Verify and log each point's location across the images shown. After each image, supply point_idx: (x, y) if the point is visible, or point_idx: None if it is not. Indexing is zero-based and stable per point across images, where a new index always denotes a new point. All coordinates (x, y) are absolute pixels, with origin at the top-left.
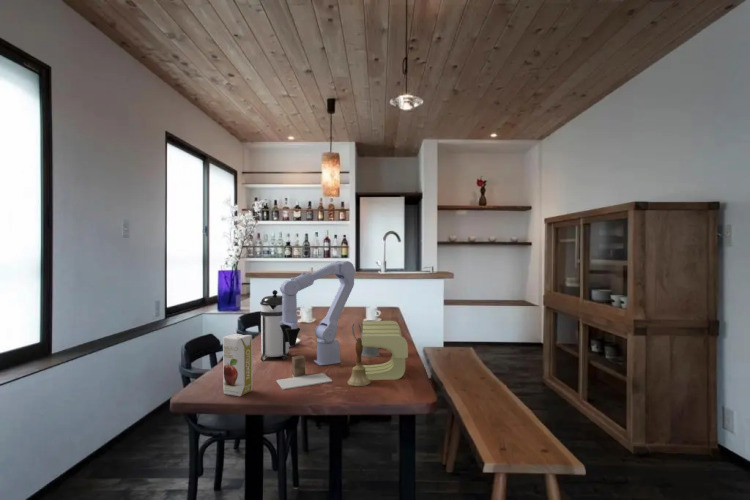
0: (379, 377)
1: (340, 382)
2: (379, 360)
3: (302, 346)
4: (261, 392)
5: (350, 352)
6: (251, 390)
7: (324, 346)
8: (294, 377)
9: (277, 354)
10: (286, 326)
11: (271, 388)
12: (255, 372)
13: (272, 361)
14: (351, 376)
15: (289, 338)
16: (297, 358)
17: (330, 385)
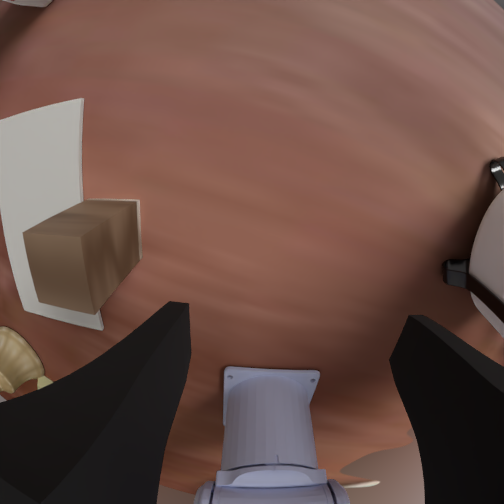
0: None
1: (21, 321)
2: (197, 470)
3: (501, 364)
4: (16, 44)
5: (328, 459)
6: (43, 6)
7: (226, 457)
8: (77, 195)
9: (478, 240)
10: (490, 487)
11: (25, 76)
12: (313, 26)
13: (461, 198)
14: (3, 349)
15: (97, 363)
16: (33, 256)
17: (2, 285)
